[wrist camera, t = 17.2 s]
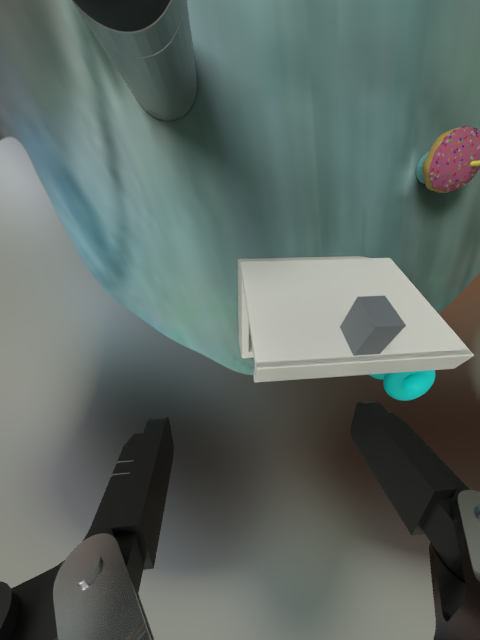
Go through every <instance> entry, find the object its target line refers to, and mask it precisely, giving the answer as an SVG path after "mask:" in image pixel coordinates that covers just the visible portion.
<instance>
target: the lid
mask: <svg viewBox="0 0 480 640" xmlns="http://www.w3.org/2000/svg"><path fill="white" fill-rule="evenodd" d="M240 267H241V274H242V280H243V287H244V294H245V301H246V307H247V314H248V321H249V328H250V334H251V341H252V348H253V355H254V361H255V371H254V382H267V381H282V380H296V379H310V378H323V377H324V378H325V377H340V376H354V375H369V374H383V373H398V372H412V371H427V370H441V369H454V368H456V367H457V366H459V365H460V364H462V363H463V362H465V361H466V360H468V359H470V358H471V357H473V356H474V355H473V353H472V352H471V351H470V350H469V349H468V348H467V346H466V345H465V344H464V343H463V342H462V341H461V340H460V338H459V337H458V336H457V335H456V334H455V333H454V331H453V330H452V329H451V328H450V327H449V326H448V325H447V323H446V322H445V321H444V320H443V319H442V318H441V316H440V315H439V314H438V313H437V312H436V311H435V309H434V308H433V307H432V306H431V305H430V304H429V302H428V301H427V300H426V299H425V298H424V297H423V296H422V294H421V293H420V292H419V291H418V290H417V289H416V287H415V286H414V285H413V284H412V283H411V282H410V280H409V279H408V278H407V277H406V276H405V275H404V274H403V272H402V271H401V270H400V269H399V268H398V267H397V265H396V264H395V263H394V262H393V261H392V260H391V258H367V259H325V260H283V261H241V262H240Z"/></svg>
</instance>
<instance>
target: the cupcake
mask: <svg viewBox="0 0 480 640" xmlns="http://www.w3.org/2000/svg"><path fill="white" fill-rule="evenodd" d="M479 169H480V133H479V132H478V131H477V129H475V128H471V127H467V126H466V127H465V126H464V127H461V128H455V129H452V130H450V131H448V132H445V133H444V134H442V135H441V136H440V137H438V139H437V140H436V141H435V142H434V144H433V146H432V147H431V149H430V151H429V152H427V153H426V154H425V155H424V156H423V157H422V158H421V159H420V161H419V162H418V165H417V168H416V176H417V179H418V180H419V181H420V182H421V183H424V184H426V187H427V189H429V190H432V191H435V192H439V193H446V192H452V191H455V190H457V189H459V188H461V187H462V186H463V187H464V186H465V185H466V184H467V183H468V182H470V180H471V179H472V178H473V179H474V175H476V174H477V171H478V170H479Z"/></svg>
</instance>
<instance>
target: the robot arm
mask: <svg viewBox="0 0 480 640" xmlns="http://www.w3.org/2000/svg"><path fill="white" fill-rule="evenodd" d="M72 1H73V3H74V4H75V6H76V7H77V9H78V11H79V12H80V14H81V15H82V17H83V18H84V20H85V21H86V23H87V24H88V26H89V27H90V29H91V30H92V32H93V33H94V35H95V36H96V38H97V39H98V41H99V42H100V44H101V46H102V47H103V49H104V50H105V52H106V53H107V55H108V56H109V58H110V59H111V61H112V62H113V64H114V65H115V67H116V69H117V70H118V72H119V73H120V75H121V76H122V78H123V79H124V81H125V82H126V84H127V86H128V87H129V89H130V90H131V92H132V93H133V95H134V96H135V98H136V99H137V101H138V102H139V104H140V105H141V106H142V107H143V108H144V109H145V110H146V111H147V112H148V113H149V114H151V115H152V116H153V117H156V118H158V119H160V120H166V121H170V120H176V119H178V118H181V117H182V116H183V115H185V114H186V113H187V112H188V110H189V109H190V108H191V106H192V104H193V102H194V100H195V96H196V91H197V75H196V67H195V59H194V51H193V44H192V37H191V29H190V22H189V14H188V7H187V0H72ZM351 436H352V439H353V442H354V444H355V445H356V447H357V448H358V450H359V452H360V453H361V455H362V456H363V458H364V460H365V461H366V463H367V464H368V466H369V468H370V469H371V471H372V473H373V474H374V475H375V477H376V479H377V481H378V482H379V484H380V485H381V487H382V489H383V490H384V491H385V493H386V495H387V497H388V498H389V500H390V501H391V503H392V504H393V506H394V508H395V509H396V511H397V512H398V514H399V516H400V517H401V519H402V521H403V522H404V524H405V526H406V527H407V528H408V530H409V532H410V534H411V535H417V534H426V536H427V537H428V539H429V540H430V543H429V557H430V567H431V577H432V587H433V597H434V606H435V617H436V629H435V635H434V640H480V492H477V491H473V490H470V489H469V488H468V487H467V486H466V485H465V484H464V483H463V482H462V481H461V480H460V479H459V478H458V477H457V476H456V475H455V474H454V473H453V471H452V470H451V469H450V468H449V467H448V466H447V465H446V464H445V463H444V462H443V461H442V460H441V459H440V458H439V457H438V456H437V455H436V454H435V452H434V451H433V450H432V449H431V448H430V447H429V446H427V445H426V443H425V442H424V441H423V440H422V439H421V438H420V437H419V436H417V433H416V432H415V431H414V430H413V429H412V428H411V427H410V426H409V425H408V424H407V423H406V422H405V421H403V420H402V419H400V418H399V417H398V416H396V415H394V414H393V413H389V412H388V411H387V410H386V409H385V408H384V407H383V406H382V405H381V404H380V403H379V402H377V401H370V402H359V403H357V405H356V408H355V413H354V417H353V420H352V424H351ZM173 455H174V443H173V437H172V431H171V425H170V420H169V417H161V418H149V419H148V421H147V424H146V427H145V430H144V433H140V434H134V435H133V436H132V437H131V438H130V440H129V441H128V442H127V443H126V444H125V446H124V447H123V449H122V452H121V454H120V456H119V459H118V463H117V464H116V466H115V469H114V471H113V475H112V477H111V478H110V481H109V483H108V486H107V488H106V491H105V493H104V496H103V498H102V501H101V503H100V505H99V508H98V510H97V513H96V515H95V518H94V520H93V523H92V525H91V527H90V530H89V532H88V533H87V535H86V537H85V539H84V540H83V541H82V542H81V543H80V544H79V545H78V546H77V547H76V548H75V549H74V550H73V551H72V552H71V553H70V554H69V555H68V557H67V558H66V559H65V560H64V561H63V562H62V563H60V564H59V565H57V566H56V567H54V568H52V569H50V570H48V571H46V572H44V573H42V574H40V575H39V576H36V577H34V578H32V579H30V580H28V581H26V582H24V583H22V584H20V585H18V586H16V587H14V588H12V589H11V588H10V587H9V586H8V584H6V583H4V582H0V640H154V637H153V635H152V631H151V629H150V626H149V623H148V620H147V617H146V614H145V611H144V608H143V605H142V603H141V600H140V597H139V594H138V592H139V586H140V582H141V577H142V572H143V570H144V569H152V568H154V563H155V558H156V552H157V546H158V541H159V535H160V529H161V523H162V519H163V512H164V507H165V502H166V496H167V491H168V485H169V479H170V474H171V468H172V463H173Z"/></svg>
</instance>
